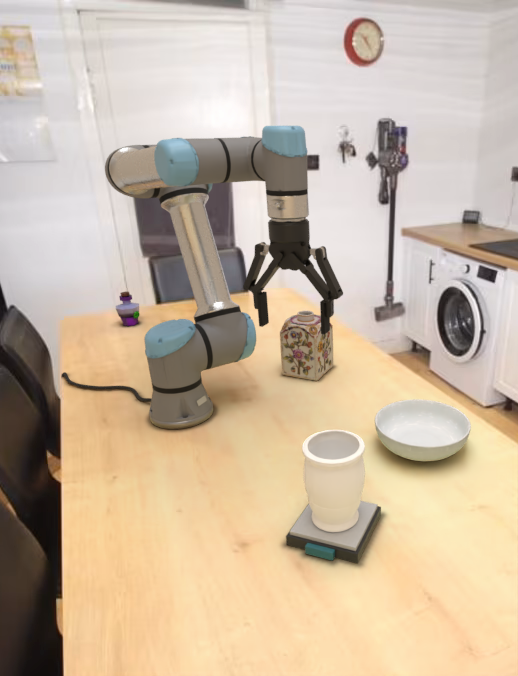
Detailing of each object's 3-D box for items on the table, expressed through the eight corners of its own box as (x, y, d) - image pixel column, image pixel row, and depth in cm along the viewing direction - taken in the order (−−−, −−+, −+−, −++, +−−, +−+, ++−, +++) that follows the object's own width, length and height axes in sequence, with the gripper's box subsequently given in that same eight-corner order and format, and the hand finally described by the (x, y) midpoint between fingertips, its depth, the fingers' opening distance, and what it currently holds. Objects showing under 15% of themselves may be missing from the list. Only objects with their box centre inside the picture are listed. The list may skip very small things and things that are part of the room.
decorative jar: (281, 375, 156) (277, 316, 149) (299, 360, 166) (296, 304, 158) (318, 382, 152) (316, 321, 145) (335, 366, 162) (333, 308, 154)
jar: (358, 541, 90) (358, 466, 83) (298, 533, 91) (293, 458, 85) (369, 502, 99) (370, 431, 92) (314, 495, 101) (311, 425, 94)
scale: (283, 548, 92) (282, 536, 91) (316, 500, 104) (316, 488, 103) (355, 567, 88) (355, 554, 87) (380, 515, 100) (381, 503, 99)
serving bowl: (407, 484, 108) (408, 456, 105) (358, 437, 125) (358, 411, 122) (488, 457, 117) (491, 430, 114) (432, 416, 134) (433, 391, 131)
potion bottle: (138, 328, 194) (132, 295, 189) (114, 328, 194) (107, 295, 189) (146, 320, 202) (141, 288, 197) (123, 320, 202) (117, 288, 197)
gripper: (218, 218, 99) (230, 327, 109) (344, 225, 92) (345, 342, 101) (239, 212, 106) (248, 316, 115) (359, 218, 98) (359, 329, 107)
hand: (294, 328), depth 108 cm, fingers open, 13 cm apart
